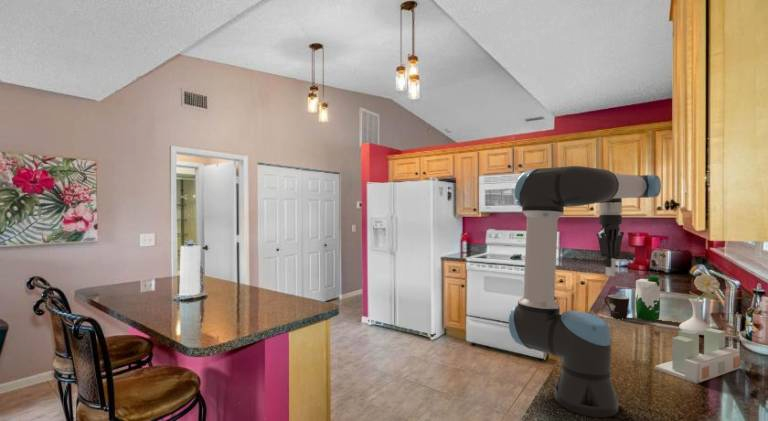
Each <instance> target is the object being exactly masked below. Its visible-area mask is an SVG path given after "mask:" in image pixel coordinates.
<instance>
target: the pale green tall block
mask: <svg viewBox="0 0 768 421" xmlns="http://www.w3.org/2000/svg"><path fill="white" fill-rule="evenodd" d="M671 339H672V342H671V343H672V344H671V345H672V348H671V349H672V350H671V351H672V352H671V353H672V354H671V355H672V357H671V358H672V360H671V361H672V369H674V370H676V371H679V372H682V373H685V360H686V359H690V358H693V357H694V340H693V339H690V338H686V337H682V336H678V335H677V336H675V337H672V338H671Z"/></svg>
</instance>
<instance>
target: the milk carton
mask: <svg viewBox="0 0 768 421" xmlns="http://www.w3.org/2000/svg"><path fill="white" fill-rule="evenodd" d="M635 312H636V319H639V320H645V321H649V322H654V323H655V322H657V321H658V320H660V315H661V314H660V313H661V280H659V276H655V275H654V276H653V275H648V276H647V278H646V279H645V278H639V279H637V280H635Z"/></svg>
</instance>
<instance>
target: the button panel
mask: <svg viewBox="0 0 768 421" xmlns="http://www.w3.org/2000/svg"><path fill="white" fill-rule="evenodd" d="M737 352H738V353H739V356H740V357H741V355H740V352H741V350H740V349H738V348H733V347H729V346H727V347H725V348H723V349H720V350H717V351H713V352H710V353H706V354H704V353H703V354H702V353H700V352H699V356H696V357H693V358H690V359H686V360H685V373H682V372H679V371H676V370H674V369H672V360H670V361H667V362H664V363H660V364H657V365H654V369H655V370H657V371H660V372H663V373H665V374H668V375H671V376H674V377H677V378H679V379H683V380H685V381H688V382H690V383H693V384H699V383H702V382H704V381H702V382H700V381H699V364H702V363H706V362H709V361H712V360H715V359H718V358H721V357H725V356H728V355H731V354H734V353H737ZM740 368H741V365H740V366H739V369H740ZM736 370H738V369H736ZM736 370H733V371H736ZM733 371H732V372H733ZM720 376H721V375H719V376H716V377H720ZM716 377H713V378H712V379H714V378H716Z"/></svg>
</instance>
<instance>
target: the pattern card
mask: <svg viewBox="0 0 768 421" xmlns="http://www.w3.org/2000/svg"><path fill="white" fill-rule="evenodd" d="M739 366H740V367H741V355H740V356H739V353H738V352H737V353H734V354H731V355H728V356H725V357H721V358H718V359H715V360H712V361H709V362H706V363H702V364H699V381H700V383H702V381H703V382H705V381H709V380H711V379H714V378H716V376H717V377H720V376H722V375H725V374H728V373H730V372H733V370H734V371H736V369H737V370H740V368H739ZM719 375H720V376H719ZM713 377H714V378H713Z"/></svg>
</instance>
